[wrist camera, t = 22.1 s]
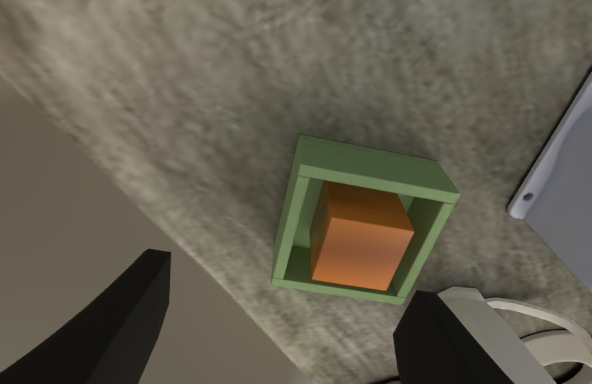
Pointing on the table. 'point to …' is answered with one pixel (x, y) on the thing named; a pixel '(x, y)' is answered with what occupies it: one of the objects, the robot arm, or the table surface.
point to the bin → (371, 174)
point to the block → (358, 236)
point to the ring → (561, 352)
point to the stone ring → (394, 382)
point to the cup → (506, 331)
